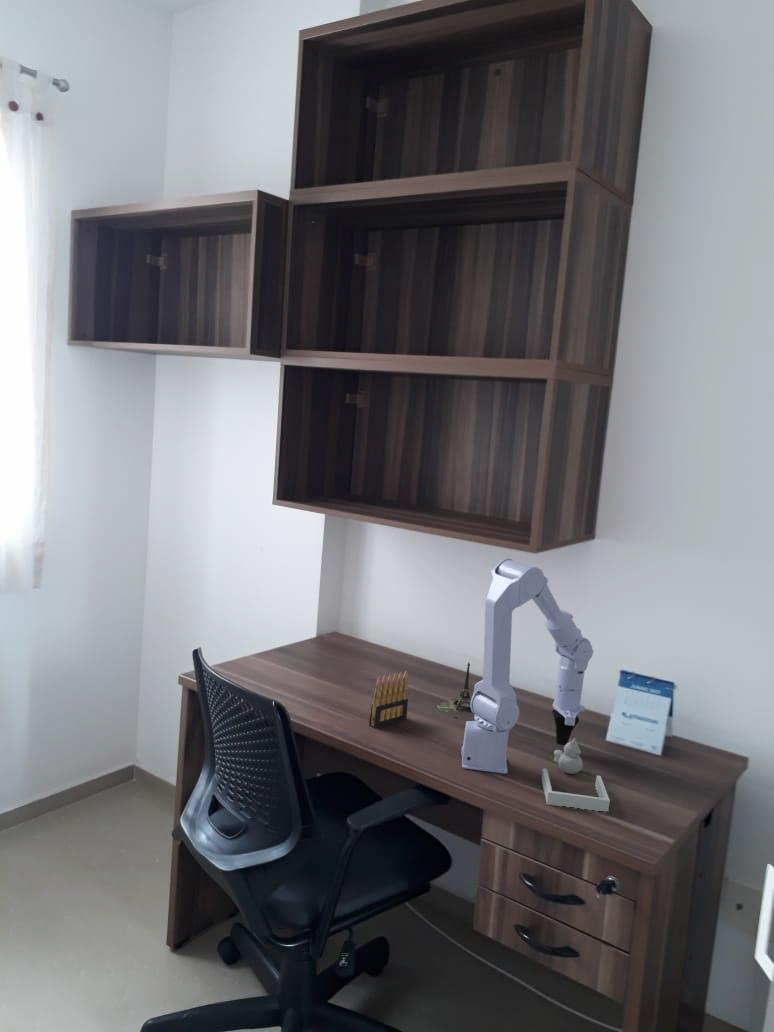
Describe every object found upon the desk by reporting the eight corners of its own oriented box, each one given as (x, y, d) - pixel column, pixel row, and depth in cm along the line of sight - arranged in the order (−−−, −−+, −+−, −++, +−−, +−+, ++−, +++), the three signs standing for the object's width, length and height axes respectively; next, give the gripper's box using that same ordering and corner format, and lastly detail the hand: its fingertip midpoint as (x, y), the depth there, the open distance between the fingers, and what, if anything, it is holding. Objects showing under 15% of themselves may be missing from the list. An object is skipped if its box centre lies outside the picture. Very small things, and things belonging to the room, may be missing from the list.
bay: (546, 804, 158) (548, 792, 158) (541, 779, 169) (543, 768, 169) (608, 812, 157) (609, 800, 157) (598, 787, 168) (600, 775, 168)
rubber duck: (575, 780, 170) (580, 744, 169) (546, 769, 174) (551, 734, 173) (586, 772, 175) (591, 737, 174) (558, 762, 179) (562, 727, 177)
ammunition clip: (401, 716, 196) (406, 668, 194) (406, 719, 195) (411, 671, 193) (368, 725, 188) (373, 676, 187) (374, 728, 187) (379, 678, 185)
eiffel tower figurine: (463, 696, 215) (469, 648, 213) (495, 709, 209) (501, 659, 207) (428, 709, 204) (434, 658, 202) (460, 722, 197) (467, 669, 195)
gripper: (592, 700, 175) (583, 759, 177) (582, 678, 190) (574, 733, 192) (559, 695, 176) (551, 755, 178) (552, 674, 190) (544, 729, 192)
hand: (561, 743), depth 185 cm, fingers closed
